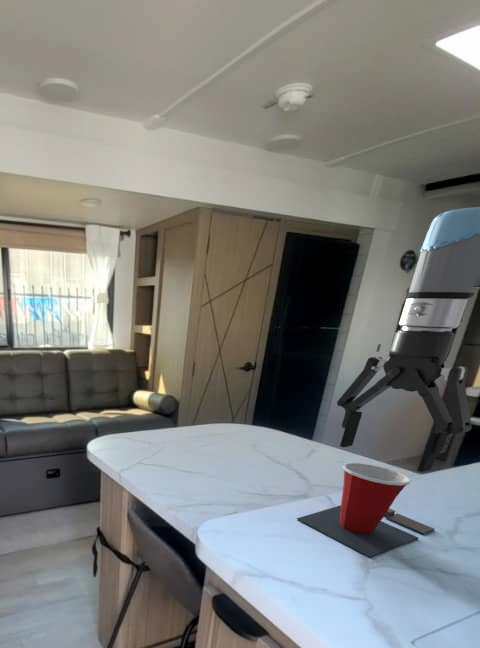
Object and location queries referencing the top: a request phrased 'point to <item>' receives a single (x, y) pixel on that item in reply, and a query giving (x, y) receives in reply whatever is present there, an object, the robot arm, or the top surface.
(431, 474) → the top surface
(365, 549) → the cloth mat
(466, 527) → the top surface
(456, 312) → the robot arm
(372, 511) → the plastic cup
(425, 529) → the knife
